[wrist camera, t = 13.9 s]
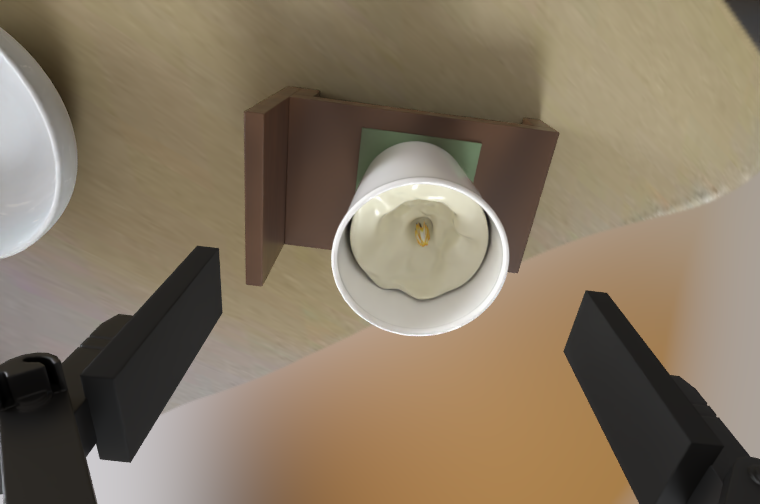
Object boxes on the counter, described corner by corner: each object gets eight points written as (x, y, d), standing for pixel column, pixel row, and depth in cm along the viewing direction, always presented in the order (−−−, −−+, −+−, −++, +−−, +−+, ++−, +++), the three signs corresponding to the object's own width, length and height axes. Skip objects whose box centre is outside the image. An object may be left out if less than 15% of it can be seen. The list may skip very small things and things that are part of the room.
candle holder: (451, 261, 39) (472, 353, 28) (338, 231, 38) (314, 314, 27) (495, 150, 34) (539, 208, 24) (369, 113, 33) (354, 156, 23)
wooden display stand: (540, 119, 38) (596, 157, 27) (505, 247, 44) (540, 321, 33) (287, 85, 38) (243, 110, 27) (283, 219, 43) (245, 284, 32)
